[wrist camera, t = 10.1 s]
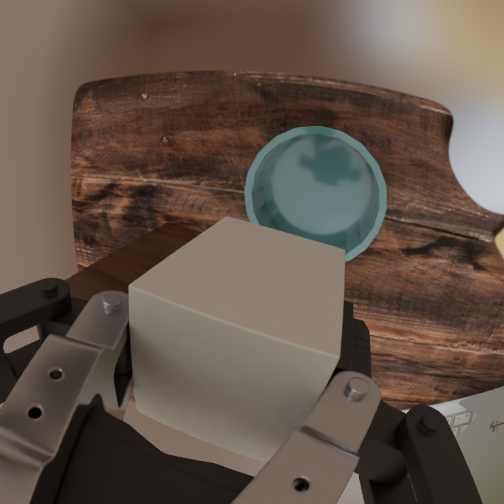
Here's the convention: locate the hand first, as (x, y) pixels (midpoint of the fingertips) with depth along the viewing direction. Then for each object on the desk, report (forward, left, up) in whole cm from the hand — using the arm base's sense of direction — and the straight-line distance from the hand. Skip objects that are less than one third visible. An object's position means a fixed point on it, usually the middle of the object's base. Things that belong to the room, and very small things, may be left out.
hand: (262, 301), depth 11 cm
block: (0, 0, -1) cm, 1 cm away
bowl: (0, 0, -25) cm, 25 cm away
